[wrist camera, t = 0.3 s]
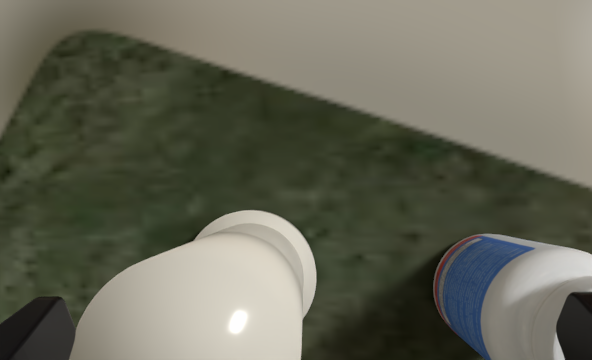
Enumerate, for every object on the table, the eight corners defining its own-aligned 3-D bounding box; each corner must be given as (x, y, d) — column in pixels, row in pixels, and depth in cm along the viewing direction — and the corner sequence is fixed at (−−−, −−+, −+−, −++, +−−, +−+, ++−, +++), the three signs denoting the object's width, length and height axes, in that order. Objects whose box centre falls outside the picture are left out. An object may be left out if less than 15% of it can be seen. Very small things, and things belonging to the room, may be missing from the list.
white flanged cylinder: (338, 300, 23) (378, 433, 10) (225, 360, 23) (121, 569, 10) (278, 187, 23) (244, 176, 10) (167, 246, 23) (-6, 308, 10)
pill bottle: (435, 345, 23) (529, 455, 13) (426, 236, 23) (513, 265, 13) (546, 338, 23) (723, 443, 13) (536, 229, 23) (705, 253, 13)
